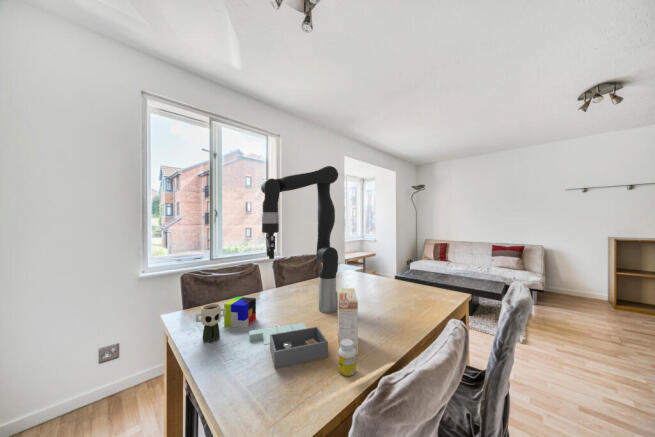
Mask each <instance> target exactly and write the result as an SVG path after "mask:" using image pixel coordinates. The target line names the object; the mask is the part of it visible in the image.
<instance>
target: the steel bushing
mask: <svg viewBox="0 0 655 437" xmlns="http://www.w3.org/2000/svg"><path fill="white" fill-rule="evenodd" d="M288 348H292V343H291V342H285V343H283V349H288Z"/></svg>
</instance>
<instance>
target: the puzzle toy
mask: <svg viewBox="0 0 655 437" xmlns="http://www.w3.org/2000/svg"><path fill="white" fill-rule="evenodd" d="M223 308H225V309H226V315H225V316H223V325H224V327H228V328H237V329H238V328H239V329H245V328H247V327H248V326H249V325H251V323H253V322H254V321H255V320H257V297H247V296H246V297H243V296H236V297H234V298H232V299H231V300H229V301H227V302H225V303H224V304H223Z"/></svg>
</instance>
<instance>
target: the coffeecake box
mask: <svg viewBox="0 0 655 437" xmlns="http://www.w3.org/2000/svg"><path fill="white" fill-rule="evenodd" d="M337 292H338V310H337V346H338V348H337V349H338V351H339V349H340V347H341V341H342V340H343V339H350V340H352V341H353V348H354V349H355V351H356V355H358V354H359V329H358V328H359V327H358V326H359V319H358V318H359V314H358V313H359V312H358V308H359V306H358V305H359V301H358V297H357V293H356V290H355V288H353V287H352V288H350V287H349V288H347V287H346V288H345V287H339V288H337Z"/></svg>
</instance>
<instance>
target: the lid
mask: <svg viewBox="0 0 655 437" xmlns="http://www.w3.org/2000/svg"><path fill="white" fill-rule="evenodd" d="M306 328H308V327H307V326H306V324H305V323H304V322H302V323H300V322H299V323H294V324H293V323H290V324H289V325H288V324H287V325H282V326H281V325H280V326H275V327H269V328H259V329H253V330H249V331H248V332H249V334H248V337H249V338H248V339H249V342H252V341H258V340H262V341H263V345H264V346H265V345H270V334H276V333H282V332H288V331H294V330H300V329H306Z"/></svg>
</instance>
